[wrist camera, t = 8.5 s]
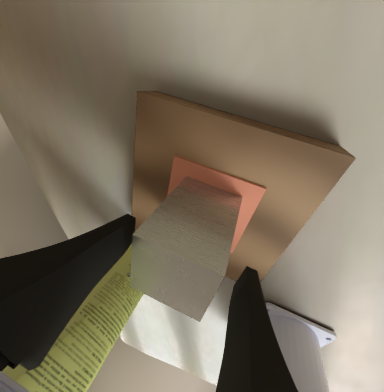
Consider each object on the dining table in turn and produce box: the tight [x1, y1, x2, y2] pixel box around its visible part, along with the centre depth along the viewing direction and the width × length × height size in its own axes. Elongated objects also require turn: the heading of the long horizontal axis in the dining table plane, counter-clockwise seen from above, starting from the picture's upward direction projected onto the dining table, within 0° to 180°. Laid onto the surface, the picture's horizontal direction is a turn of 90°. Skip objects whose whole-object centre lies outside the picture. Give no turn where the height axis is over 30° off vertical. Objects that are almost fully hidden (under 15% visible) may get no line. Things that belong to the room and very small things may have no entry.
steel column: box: [130, 176, 242, 322], centre depth 12 cm, size 4×4×7 cm
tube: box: [2, 244, 144, 392], centre depth 17 cm, size 6×5×20 cm
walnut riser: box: [132, 91, 356, 282], centre depth 16 cm, size 14×14×3 cm
